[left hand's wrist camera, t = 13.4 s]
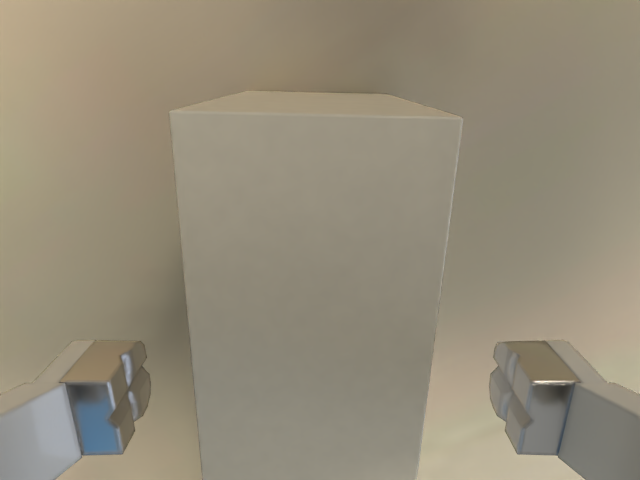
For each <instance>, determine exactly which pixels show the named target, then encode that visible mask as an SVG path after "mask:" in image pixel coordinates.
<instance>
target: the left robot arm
mask: <svg viewBox="0 0 640 480" xmlns="http://www.w3.org/2000/svg"><path fill="white" fill-rule="evenodd" d="M146 358H147V355H146V350H145V345H144V344H143V343H142V342H141V341H116V340H98V341H97V340H76V341H72V342H71V343H70V344H69V345H68V346H67V347H66V348H65V349H64V350H63V351H62V352H61V353H60V354H59V355H58V356H57V357H56V359H55V360H54V361H53V362H52V363H51V364H50V365H49V366H48V367H47V368H46V369H45V370H44V371H43V372H42V373H41V374H40V375H39V376H38V378H37V379H36V380H35V381H34V382H33V383H24V384H22V385H20V386H18V387H15V388H13V389H11V390H9V391H7V392H5V393H3V394H0V480H55V479H56V478H57V477H58V476H60V475H61V474H62V473H63V472H65V471H66V470H67V469H68V468H70V467H71V466H72V465H73V464H74V463H76V462H77V461H78V460H79V459H81V458H82V455H113V454H123V453H124V451H125V449H126V447H127V445H128V443H129V441H130V439H131V438H132V436H133V434H134V432H135V426H134V421H136V420H137V419H139V418H140V417H142V416H143V415H144V413H145V411H146V408H147V406H148V402H149V398H150V394H151V381H150V374H149V373H148V372H147V371H146V370H145V369H144V368H143V367H142V365H143V363H144V361H145V360H146ZM493 358H494V360H495V361H496V363H497V365H498V367H497V368H496V369H495V370H494V371H493V372H492V373H491V374H490V383H489V391H490V399H491V403H492V406H493V409H494V411H495V413H496V415H497V416H498V417H500V418H501V419H503V420H504V421H506V427H505V432H506V434H507V436H508V438H509V439H510V441H511V443H512V445H513V447H514V449H515V451H516V453H517V454H526V455H558V458H560V459H561V460H562V461H563V462H564V463H566V464H567V465H568V466H569V467H571V468H572V469H573V470H574V471H576V472H577V473H578V474H579V475H581V476H582V477H583V478H584V479H585V480H640V395H639V394H637V393H635V392H633V391H631V390H629V389H627V388H625V387H622V386H620V385H618V384H616V383H607V382H606V381H605V380H604V379H603V377H602V376H601V375H600V374H599V373H598V372H597V371H596V370H595V369H594V368H593V367H592V366H591V365H590V364H589V363H588V362H587V361H586V360H585V358H584V357H583V356H582V355H581V354H580V353H579V352H578V351H577V350H576V349H575V348H574V347H573V346H572V345H571V344H570V343H569V342H568V341H565V340H542V341H508V342H497V344H496V346H495V349H494V355H493Z"/></svg>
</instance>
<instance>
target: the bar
mask: <svg viewBox="0 0 640 480" xmlns="http://www.w3.org/2000/svg"><path fill="white" fill-rule="evenodd" d="M169 120H170V131H171V142H172V153H173V164H174V175H175V186H176V197H177V208H178V218H179V229H180V240H181V251H182V262H183V273H184V284H185V295H186V306H187V317H188V328H189V339H190V349H191V360H192V371H193V382H194V393H195V404H196V415H197V426H198V437H199V448H200V459H201V469H202V480H417V474H418V466H419V459H420V451H421V443H422V435H423V427H424V420H425V412H426V404H427V396H428V389H429V381H430V373H431V365H432V358H433V350H434V342H435V334H436V327H437V319H438V311H439V303H440V295H441V288H442V280H443V272H444V264H445V257H446V249H447V241H448V233H449V226H450V218H451V210H452V202H453V195H454V187H455V179H456V171H457V163H458V156H459V148H460V140H461V132H462V125H463V118H462V117H460V116H457V115H454V114H451V113H447V112H444V111H441V110H438V109H434V108H431V107H428V106H425V105H421V104H418V103H415V102H412V101H408V100H405V99H402V98H398V97H395V96H392V95H389V94H371V93H327V92H283V91H244V92H240V93H236V94H232V95H228V96H224V97H220V98H217V99H213V100H209V101H205V102H201V103H197V104H193V105H189V106H185V107H182V108H178V109H174V110H171V111H169Z"/></svg>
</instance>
